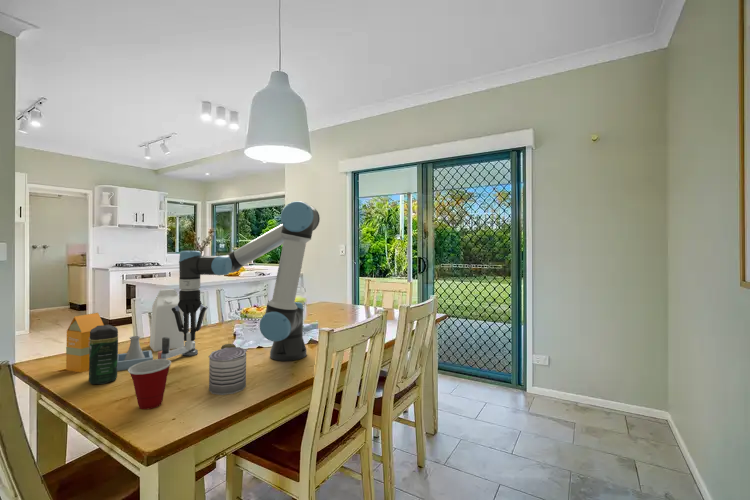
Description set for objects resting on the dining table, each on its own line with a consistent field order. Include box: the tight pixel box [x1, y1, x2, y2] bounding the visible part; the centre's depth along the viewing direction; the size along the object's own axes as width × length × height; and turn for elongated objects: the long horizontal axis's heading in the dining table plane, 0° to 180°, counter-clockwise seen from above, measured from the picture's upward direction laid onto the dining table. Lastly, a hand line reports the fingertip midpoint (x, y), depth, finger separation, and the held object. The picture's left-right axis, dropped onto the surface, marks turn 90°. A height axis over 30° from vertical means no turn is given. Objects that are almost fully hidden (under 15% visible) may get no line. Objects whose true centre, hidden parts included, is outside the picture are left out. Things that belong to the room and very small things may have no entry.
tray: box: [117, 349, 154, 372], centre depth 144 cm, size 12×12×3 cm
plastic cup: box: [127, 358, 172, 410], centre depth 107 cm, size 11×11×12 cm
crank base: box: [181, 348, 199, 357], centre depth 157 cm, size 6×6×2 cm
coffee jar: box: [88, 324, 119, 385], centre depth 126 cm, size 10×8×19 cm
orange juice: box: [65, 312, 105, 373], centre depth 138 cm, size 8×9×20 cm
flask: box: [124, 335, 145, 361], centre depth 144 cm, size 7×7×10 cm
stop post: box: [157, 350, 162, 359], centre depth 147 cm, size 2×2×4 cm
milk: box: [149, 288, 185, 352], centre depth 169 cm, size 12×12×26 cm
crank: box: [161, 337, 196, 360], centre depth 152 cm, size 15×4×8 cm, turn 161°
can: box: [208, 346, 248, 396], centre depth 121 cm, size 11×11×12 cm
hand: (189, 348), depth 147 cm, fingers closed
